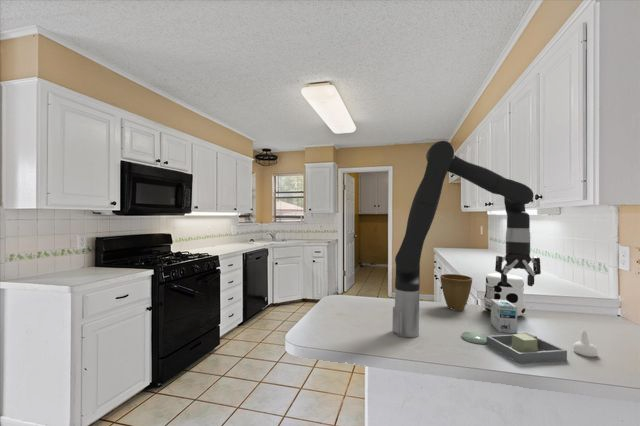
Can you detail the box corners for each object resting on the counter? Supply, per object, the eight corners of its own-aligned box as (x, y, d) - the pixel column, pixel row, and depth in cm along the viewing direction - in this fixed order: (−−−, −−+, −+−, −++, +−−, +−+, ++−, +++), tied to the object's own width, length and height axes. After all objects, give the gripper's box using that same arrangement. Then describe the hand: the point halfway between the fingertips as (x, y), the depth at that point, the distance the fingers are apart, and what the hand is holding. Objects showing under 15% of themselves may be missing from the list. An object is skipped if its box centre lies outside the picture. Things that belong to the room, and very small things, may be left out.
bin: (519, 363, 96) (519, 353, 96) (486, 344, 111) (486, 335, 111) (566, 359, 99) (566, 350, 99) (528, 341, 114) (528, 333, 114)
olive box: (524, 358, 100) (524, 340, 100) (511, 352, 105) (512, 334, 105) (537, 357, 101) (537, 339, 101) (524, 351, 106) (525, 333, 106)
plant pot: (437, 303, 163) (437, 273, 163) (467, 305, 160) (467, 274, 160) (442, 311, 149) (443, 278, 149) (475, 314, 146) (476, 280, 146)
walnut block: (528, 349, 107) (528, 337, 107) (518, 344, 111) (518, 333, 111) (536, 347, 109) (536, 336, 109) (525, 343, 112) (525, 332, 112)
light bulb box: (517, 334, 121) (518, 306, 122) (499, 332, 123) (499, 305, 123) (507, 324, 132) (507, 299, 132) (490, 323, 133) (490, 298, 133)
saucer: (473, 344, 110) (473, 342, 110) (456, 334, 120) (456, 332, 120) (497, 343, 112) (497, 341, 112) (479, 333, 121) (479, 331, 121)
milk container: (528, 314, 148) (528, 276, 148) (522, 323, 135) (522, 281, 135) (488, 306, 159) (488, 271, 159) (479, 314, 146) (479, 276, 146)
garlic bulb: (597, 355, 105) (597, 331, 105) (597, 359, 100) (597, 334, 101) (573, 349, 109) (573, 326, 110) (572, 353, 104) (573, 329, 105)
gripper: (501, 240, 109) (500, 286, 109) (545, 242, 107) (544, 288, 107) (492, 239, 117) (492, 282, 116) (533, 240, 115) (533, 284, 114)
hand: (517, 285), depth 112 cm, fingers open, 8 cm apart
